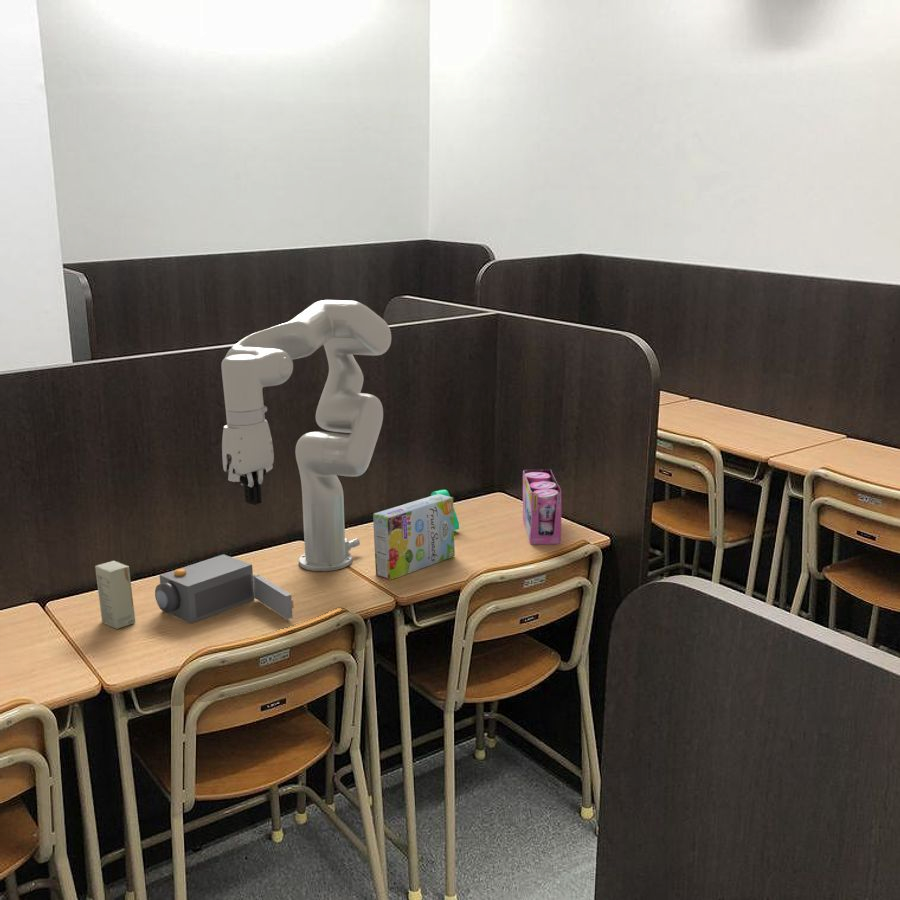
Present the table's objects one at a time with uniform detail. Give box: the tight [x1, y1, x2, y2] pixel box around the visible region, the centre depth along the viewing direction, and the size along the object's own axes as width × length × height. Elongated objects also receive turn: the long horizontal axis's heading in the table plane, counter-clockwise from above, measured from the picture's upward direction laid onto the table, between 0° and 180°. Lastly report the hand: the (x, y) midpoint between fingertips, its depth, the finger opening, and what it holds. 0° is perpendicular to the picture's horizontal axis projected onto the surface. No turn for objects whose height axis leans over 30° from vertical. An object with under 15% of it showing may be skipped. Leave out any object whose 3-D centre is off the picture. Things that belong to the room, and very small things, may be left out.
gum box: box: [522, 469, 562, 545], centre depth 243 cm, size 24×8×14 cm, turn 1°
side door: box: [253, 573, 295, 620], centre depth 196 cm, size 15×2×5 cm, turn 38°
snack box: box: [372, 494, 456, 581], centre depth 220 cm, size 21×6×15 cm, turn 136°
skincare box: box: [94, 560, 136, 630], centre depth 190 cm, size 6×4×12 cm
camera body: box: [154, 553, 255, 624], centre depth 198 cm, size 19×10×9 cm, turn 139°
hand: (253, 502), depth 195 cm, fingers closed
